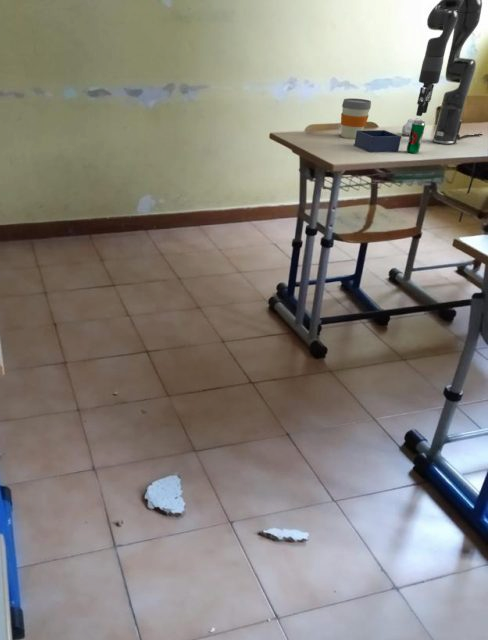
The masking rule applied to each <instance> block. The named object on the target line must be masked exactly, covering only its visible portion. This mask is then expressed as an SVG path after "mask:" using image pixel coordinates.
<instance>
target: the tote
mask: <svg viewBox="0 0 488 640" xmlns="http://www.w3.org/2000/svg"><path fill="white" fill-rule="evenodd" d="M401 140H402V136H401V135H399V134H396V133H394V132H391V131H389V130H388V131H387V130H385V129H375V130H374V129H371V130H370V129H368V130H364V129H363V131H357V133H356V139H354V145H353V146H356V147H358V149H362V150H364V151H366V152H368V153H392V152H399V151H400V150H399V149H400V144H401Z"/></svg>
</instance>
